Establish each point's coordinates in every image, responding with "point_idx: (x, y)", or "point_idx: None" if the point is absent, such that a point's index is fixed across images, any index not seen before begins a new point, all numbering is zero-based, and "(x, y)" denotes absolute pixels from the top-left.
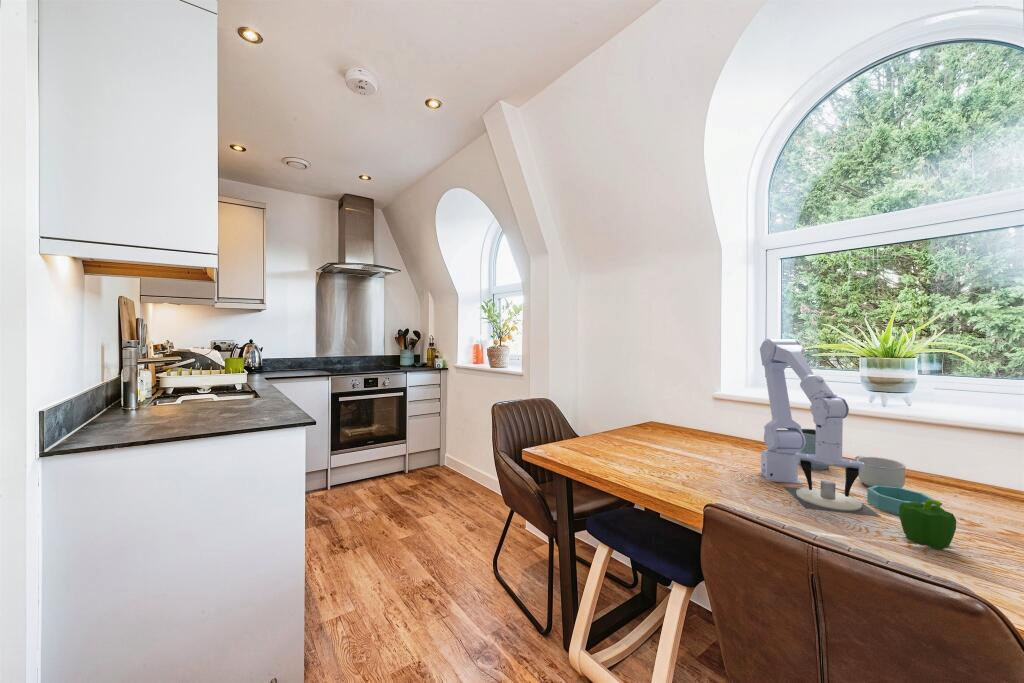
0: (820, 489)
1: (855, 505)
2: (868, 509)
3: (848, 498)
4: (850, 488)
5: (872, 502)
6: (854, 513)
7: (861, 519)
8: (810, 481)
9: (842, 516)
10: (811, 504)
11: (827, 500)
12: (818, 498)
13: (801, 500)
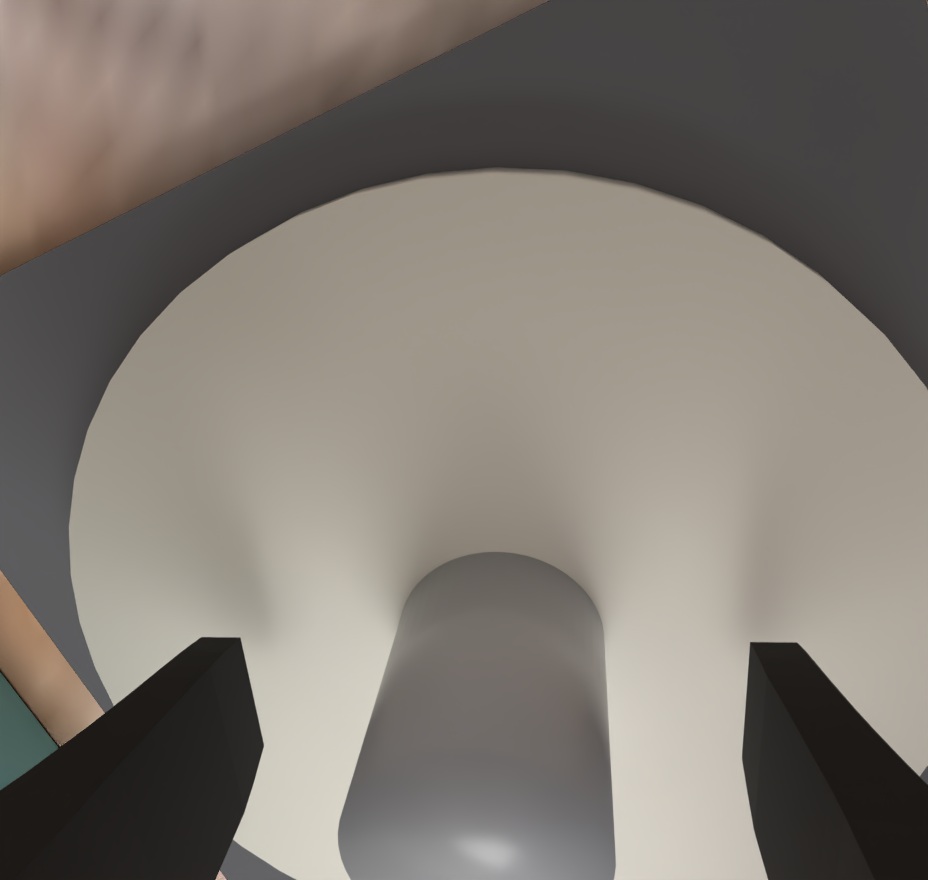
0: (608, 722)
1: (129, 493)
2: (25, 547)
3: None
4: (77, 734)
5: (16, 775)
6: (123, 219)
7: (32, 86)
8: (834, 751)
9: (271, 8)
10: (752, 201)
11: (500, 467)
12: (635, 486)
13: (912, 317)
